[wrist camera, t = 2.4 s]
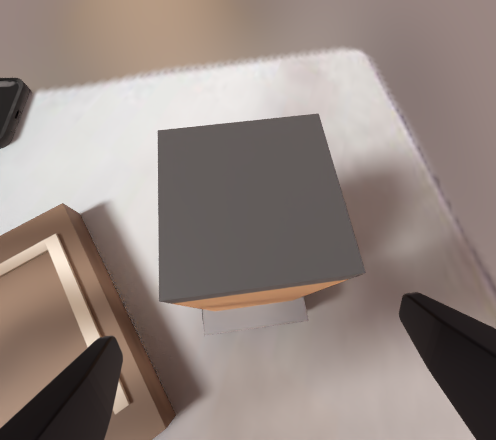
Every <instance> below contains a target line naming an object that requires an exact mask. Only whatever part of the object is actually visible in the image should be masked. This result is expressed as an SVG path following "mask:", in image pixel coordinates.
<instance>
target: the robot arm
mask: <svg viewBox="0 0 496 440" xmlns="http://www.w3.org/2000/svg"><path fill="white" fill-rule="evenodd" d="M399 317H400V320H401V322H402V324H403V326H404V327H405V329H406V331H407V333H408V334H409V336H410V338H411V340H412V342H413V343H414V345H415V347H416V349H417V351H418V352H419V354H420V356H421V358H422V359H423V361H424V363H425V365H426V366H427V368H428V369H429V371H430V372H431V374H432V376H433V377H434V379H435V380H436V381H437V383H438V384H439V386H440V387H441V389H442V390H443V392H444V393H445V395H446V396H447V398H448V399H449V400H450V402H451V403H452V405H453V406H454V408H455V409H456V411H457V412H458V414H459V415H460V417H461V418H462V419H463V421H464V422H465V424H466V425H467V427H468V428H469V430H470V431H471V433H472V434H473V436H474V437H475V438H476V440H496V329H495V328H493V327H491V326H489V325H486V324H484V323H482V322H480V321H478V320H476V319H474V318H472V317H469V316H467V315H465V314H463V313H461V312H459V311H457V310H455V309H453V308H450V307H448V306H446V305H444V304H442V303H440V302H438V301H436V300H433V299H431V298H429V297H427V296H425V295H423V294H421V293H418V292H413V293H406V294H404V295H403V297H402V301H401V306H400V311H399ZM122 363H123V354H122V351H121V349H120V346H119V344H118V342H117V340H116V338H115V337H114V336H112V335H111V336H104V337H100V338H98V339H97V340H95V341H94V342H93V343H92V344H91V345H90V346H89V347H88V348H87V349H86V350H85V351H83V352H82V353H81V354H80V355H79V356H78V357H77V358H76V359H75V360H74V361H73V362H72V363H70V364H69V365H68V366H67V367H66V368H65V369H64V370H63V371H62V372H61V373H60V374H59V375H57V376H56V377H55V378H54V379H53V380H52V381H51V382H50V383H49V384H48V385H47V386H45V387H44V388H43V389H42V390H41V391H40V392H39V393H38V394H37V395H36V396H35V397H34V398H32V399H31V400H30V401H29V402H28V403H27V404H26V405H25V406H24V407H23V408H22V409H21V410H19V411H18V412H17V413H16V414H15V415H14V416H13V417H12V418H11V419H10V420H9V421H8V422H6V423H5V424H4V425H3V426H2V427H1V428H0V440H104V439H105V436H106V433H107V430H108V426H109V423H110V419H111V415H112V411H113V406H114V401H115V397H116V392H117V387H118V382H119V378H120V373H121V368H122Z"/></svg>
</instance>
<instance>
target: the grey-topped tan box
mask: <svg viewBox="0 0 496 440" xmlns="http://www.w3.org/2000/svg"><path fill="white" fill-rule="evenodd" d="M158 215H159V301H160V302H166V303H171V304H177V305H182V306H188V307H193V308H199V309H202V316H203V324H204V336H205V335H212V334H219V333H226V332H233V331H240V330H246V329H253V328H260V327H267V326H274V325H281V324H288V323H295V322H302V321H308V316H307V311H306V306H305V301H304V296H306V295H309V294H311V293H314V292H317V291H319V290H322V289H324V288H327V287H330V286H332V285H335V284H338V283H340V282H343V281H346V280H348V279H351V278H354V277H356V276H359V275H362V274H364V273H366V272H365V269H364V266H363V262H362V259H361V256H360V252H359V249H358V245H357V242H356V239H355V235H354V232H353V229H352V225H351V222H350V218H349V215H348V212H347V208H346V205H345V201H344V198H343V195H342V191H341V188H340V185H339V181H338V178H337V174H336V171H335V168H334V164H333V161H332V158H331V154H330V151H329V147H328V144H327V141H326V137H325V134H324V130H323V127H322V124H321V120H320V117H319V114H310V115H301V116H291V117H282V118H272V119H263V120H253V121H244V122H234V123H225V124H215V125H206V126H196V127H187V128H177V129H168V130H158Z"/></svg>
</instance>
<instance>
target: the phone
mask: <svg viewBox="0 0 496 440" xmlns="http://www.w3.org/2000/svg"><path fill="white" fill-rule="evenodd" d="M29 92H31V93H32V91H31V90H30V89H29V88H28V87H27V85H26V84H25V83H24V82H23V81H22V80H20V79H18V78H0V149H1V148H4V147H5V146H7V145H8V144H9V143H10V142H11V140H12V138H13V135H14V133H15V130H16V127H17V124H18V122H19V119H20V116H21V114H22V111H23V108H24V105H25V103H26V100H27V97H28V95H29ZM17 110H18V111H19V114H18V116H17V119H15V116H16V113H17ZM11 131H12V132H11Z"/></svg>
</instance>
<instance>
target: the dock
mask: <svg viewBox="0 0 496 440" xmlns="http://www.w3.org/2000/svg"><path fill="white" fill-rule="evenodd" d="M111 335H112V336H114V337H115V338H116V340H117V342H118V344H119V346H120V349H121V351H122V354H123V363H122V368H121V373H120V378H119V382H118V387H117V392H116V397H115V401H114V406H113V411H112V415H111V419H110V423H109V426H108V430H107V433H106V436H105V439H104V440H152V439H153V438H154V437H156V436H157V435H158V434H160V433H161V432H162V431H164V430H165V429H166V428H167V427H168V425H169V424H170V422H171V421H172V420H173V418H174V417H175V416H176V415H175V412H174V410H173V408H172V406H171V404H170V402H169V400H168V398H167V396H166V394H165V392H164V389H163V387H162V385H161V383H160V381H159V379H158V377H157V375H156V373H155V371H154V368H153V366H152V364H151V362H150V360H149V358H148V356H147V354H146V352H145V350H144V347H143V345H142V343H141V341H140V339H139V337H138V335H137V333H136V331H135V329H134V327H133V324H132V322H131V320H130V318H129V316H128V314H127V312H126V310H125V308H124V306H123V303H122V301H121V299H120V297H119V295H118V293H117V291H116V289H115V287H114V285H113V282H112V280H111V278H110V276H109V274H108V272H107V270H106V268H105V266H104V264H103V262H102V259H101V257H100V255H99V253H98V251H97V249H96V247H95V245H94V243H93V241H92V238H91V236H90V234H89V232H88V230H87V228H86V226H85V224H84V222H83V220H82V217H81V215H80V214H79V213H78V212H76V211H74V210H73V209H71V208H70V207H68V206H66V205H65V204H63V203H62V204H60V205H58V206H56V207H55V208H53V209H51V210H49V211H47V212H45V213H43V214H41V215H39V216H37V217H35V218H34V219H32V220H30V221H28V222H26V223H24V224H22V225H20V226H18V227H16V228H14V229H12V230H11V231H9V232H7V233H5V234H3V235H1V236H0V428H1V427H2V426H3V425H4V424H5V423H6V422H8V421H9V420H10V419H11V418H12V417H13V416H14V415H15V414H16V413H17V412H18V411H19V410H21V409H22V408H23V407H24V406H25V405H26V404H27V403H28V402H29V401H30V400H31V399H32V398H34V397H35V396H36V395H37V394H38V393H39V392H40V391H41V390H42V389H43V388H44V387H45V386H47V385H48V384H49V383H50V382H51V381H52V380H53V379H54V378H55V377H56V376H57V375H59V374H60V373H61V372H62V371H63V370H64V369H65V368H66V367H67V366H68V365H69V364H70V363H72V362H73V361H74V360H75V359H76V358H77V357H78V356H79V355H80V354H81V353H82V352H83V351H85V350H86V349H87V348H88V347H89V346H90V345H91V344H92V343H93V342H94V341H95V340H97V339H98V338H100V337H104V336H111Z"/></svg>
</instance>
